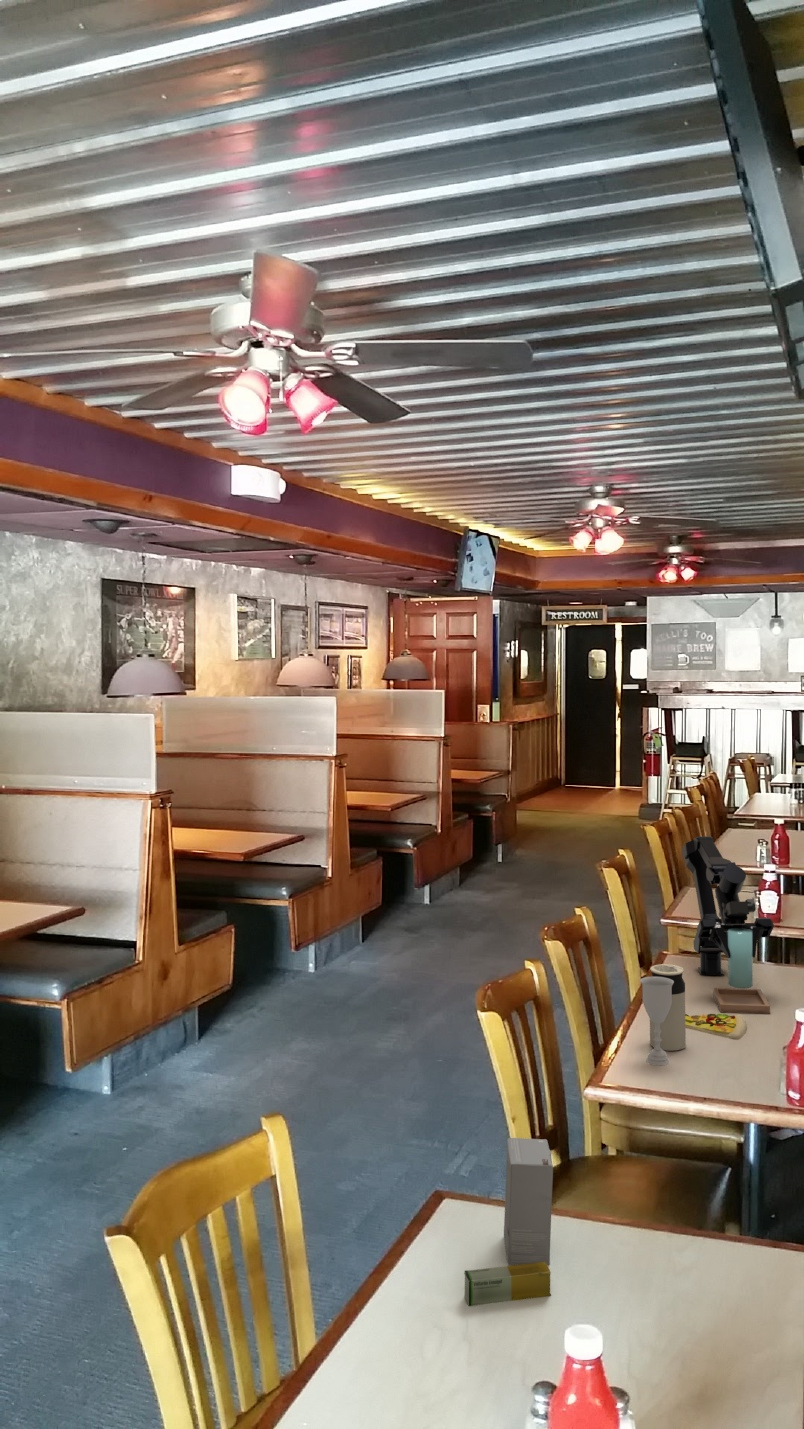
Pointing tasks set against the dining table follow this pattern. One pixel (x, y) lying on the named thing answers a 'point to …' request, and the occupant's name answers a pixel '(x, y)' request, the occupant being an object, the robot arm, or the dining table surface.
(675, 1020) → the travel mug
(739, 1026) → the pizza slice
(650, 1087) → the dining table surface
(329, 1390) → the dining table surface
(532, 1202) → the skincare box
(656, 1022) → the chalice
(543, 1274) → the medication box
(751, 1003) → the tray
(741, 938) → the teal rounded cylinder
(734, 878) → the robot arm
